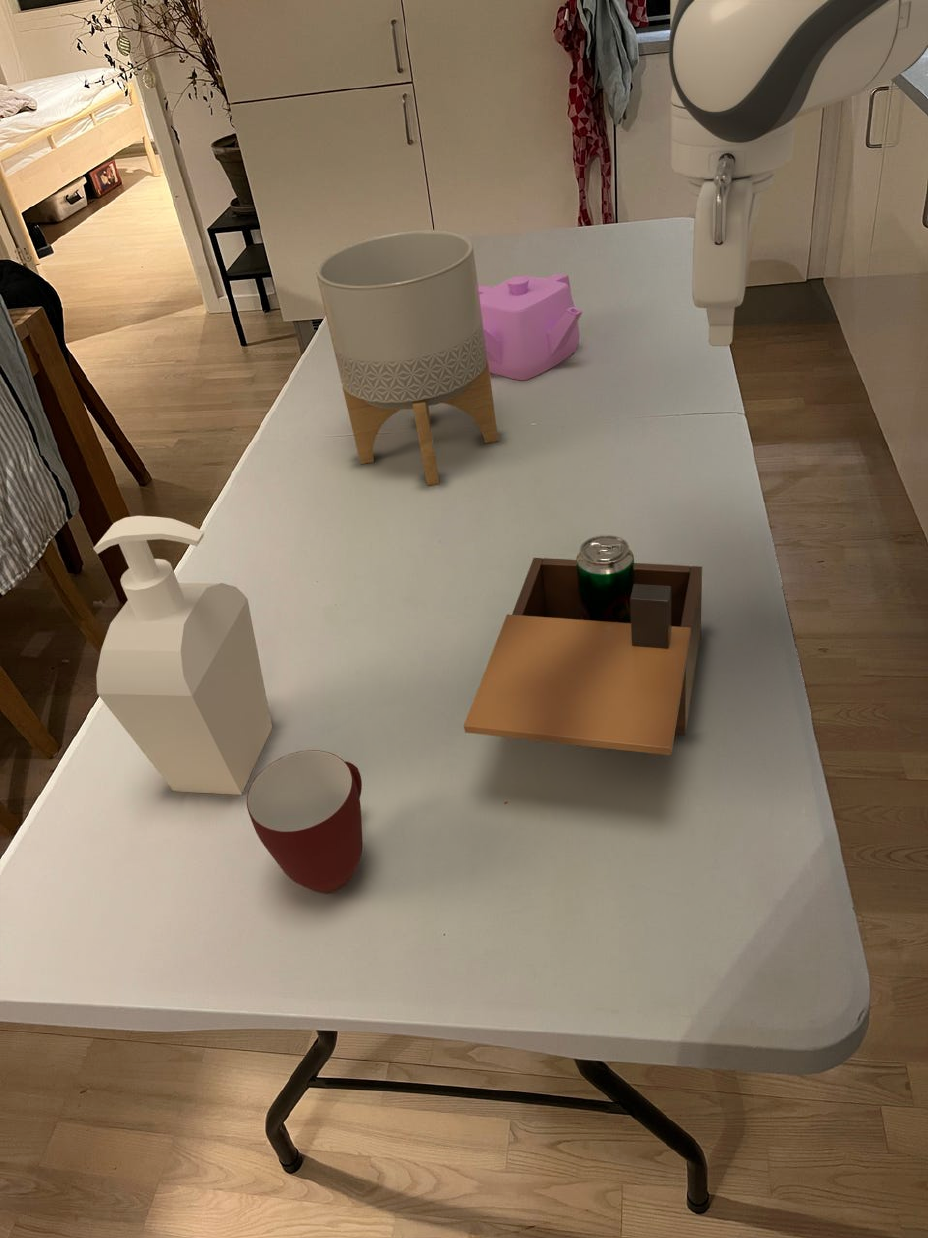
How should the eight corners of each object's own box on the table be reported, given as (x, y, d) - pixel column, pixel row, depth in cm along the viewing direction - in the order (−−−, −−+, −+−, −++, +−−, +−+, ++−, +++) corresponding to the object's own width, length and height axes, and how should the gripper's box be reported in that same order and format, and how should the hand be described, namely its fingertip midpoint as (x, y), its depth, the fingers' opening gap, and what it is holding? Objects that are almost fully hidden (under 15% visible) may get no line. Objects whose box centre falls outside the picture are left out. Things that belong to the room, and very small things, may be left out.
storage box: (700, 632, 94) (702, 566, 89) (685, 735, 84) (686, 667, 79) (540, 620, 99) (533, 557, 94) (507, 717, 89) (497, 651, 84)
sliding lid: (690, 634, 81) (691, 579, 78) (671, 755, 71) (670, 699, 68) (507, 621, 86) (500, 568, 83) (464, 732, 76) (454, 678, 72)
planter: (359, 429, 138) (317, 245, 122) (490, 407, 138) (465, 220, 122) (360, 497, 123) (313, 297, 107) (506, 472, 123) (480, 268, 107)
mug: (314, 804, 84) (285, 722, 77) (401, 815, 81) (379, 731, 75) (263, 907, 76) (227, 825, 70) (358, 923, 73) (329, 840, 67)
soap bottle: (261, 814, 83) (162, 573, 67) (155, 808, 86) (36, 574, 70) (304, 713, 93) (226, 481, 77) (208, 710, 95) (113, 484, 79)
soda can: (584, 634, 95) (576, 533, 87) (637, 633, 94) (633, 531, 86) (582, 669, 91) (574, 566, 83) (637, 669, 90) (633, 564, 82)
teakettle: (573, 329, 155) (568, 251, 148) (587, 373, 142) (582, 290, 134) (469, 344, 156) (458, 268, 149) (473, 390, 143) (461, 308, 135)
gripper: (769, 176, 63) (758, 373, 72) (781, 102, 78) (770, 272, 87) (671, 182, 65) (672, 374, 74) (701, 108, 80) (698, 275, 88)
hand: (725, 318), depth 80 cm, fingers open, 8 cm apart
